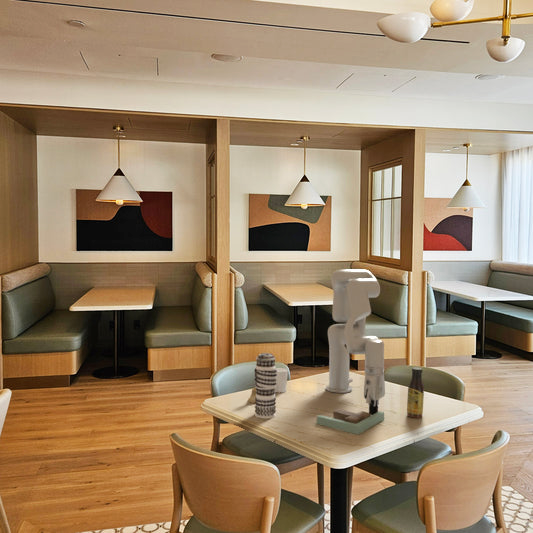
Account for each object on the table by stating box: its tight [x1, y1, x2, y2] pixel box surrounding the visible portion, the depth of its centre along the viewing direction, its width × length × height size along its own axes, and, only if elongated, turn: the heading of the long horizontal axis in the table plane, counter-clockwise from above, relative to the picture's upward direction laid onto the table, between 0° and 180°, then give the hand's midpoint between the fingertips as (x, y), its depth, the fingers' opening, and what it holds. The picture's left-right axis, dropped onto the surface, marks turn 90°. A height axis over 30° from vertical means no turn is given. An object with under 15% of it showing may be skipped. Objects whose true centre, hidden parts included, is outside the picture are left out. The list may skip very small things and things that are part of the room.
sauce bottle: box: [406, 366, 425, 419], centre depth 214 cm, size 6×6×20 cm
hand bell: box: [247, 370, 257, 404], centre depth 233 cm, size 8×8×16 cm
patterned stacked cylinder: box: [254, 352, 277, 419], centre depth 214 cm, size 9×9×25 cm
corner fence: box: [316, 410, 385, 435], centre depth 207 cm, size 22×18×3 cm
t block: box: [332, 408, 371, 424], centre depth 205 cm, size 12×12×4 cm
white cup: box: [275, 367, 289, 393], centre depth 250 cm, size 8×8×10 cm
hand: (373, 414), depth 213 cm, fingers closed
